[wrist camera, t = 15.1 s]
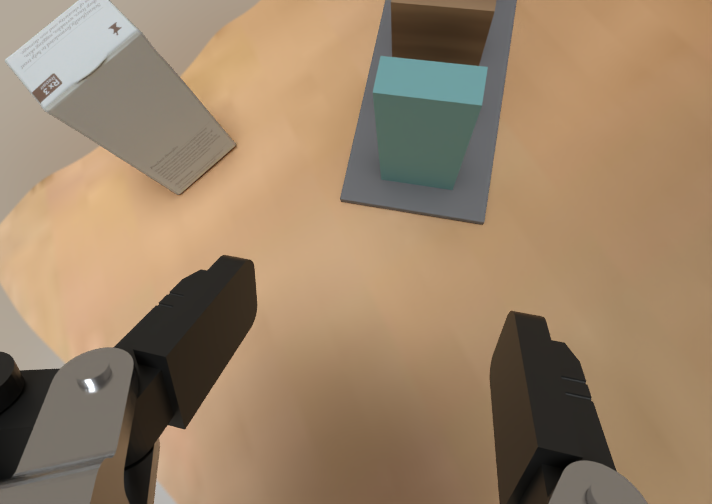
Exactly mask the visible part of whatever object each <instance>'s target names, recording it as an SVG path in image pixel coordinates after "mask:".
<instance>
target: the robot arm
mask: <svg viewBox="0 0 712 504" xmlns="http://www.w3.org/2000/svg"><path fill="white" fill-rule="evenodd" d="M256 312H257V295H256V282H255V269H254V264H253V262H252V261H251V260H248V259H243V258H238V257H233V256H228V255H223V256H221V257H220V258H219V259H218V260H217V261H216V262H215V263H214V264H213V265H212V266H211V267H210V268H209V269H208V270H207V271H206V270H199V271H197V272H195V273H193V274H192V275H190V276H188V277H186V278H184V279H182V280H181V281H180V282H179V283H178V284H177V285H176V286H175V287H174V288H173V289H172V290H171V291H170V294H169V295H166V296H165V297H164V298H163V299H162V300H161V301H160V302H159V305H158V306H155V307H154V308H153V309H152V310H151V311H150V312H149V313H148V314H147V315H146V316H145V317H144V318H143V319H142V320H141V321H140V322H139V323H138V324H137V325H136V326H135V327H134V328H133V329H132V330H131V331H130V332H129V333H128V334H127V335H126V336H125V337H124V338H123V339H122V340H121V341H120V342H119V343H118V344H117V345H116V346H115V347H113V348H100V349H95V350H91V351H88V352H86V353H83V354H81V355H79V356H77V357H75V358H73V359H72V360H70V361H69V362H67V363H66V364H65V365H64V366H63V367H62V368H61V369H44V370H24V371H20V370H19V368H18V367H17V365H16V363H15V361H14V360H13V358H12V357H11V356H10V355H9V354H7V353H4V352H0V504H154V496H155V487H156V478H157V469H158V460H159V451H160V441H159V437H160V435H161V434H162V432H163V431H164V429H165V428H166V427H167V425H170V426H174V427H178V428H181V429H186V427H187V426H188V424H189V422H190V421H191V419H192V418H193V416H194V415H195V413H196V412H197V410H198V409H199V407H200V405H201V404H202V402H203V401H204V399H205V398H206V396H207V395H208V393H209V392H210V390H211V388H212V387H213V385H214V384H215V382H216V381H217V379H218V378H219V376H220V375H221V373H222V372H223V370H224V368H225V367H226V365H227V364H228V362H229V361H230V359H231V358H232V356H233V355H234V353H235V351H236V350H237V348H238V347H239V345H240V344H241V342H242V341H243V339H244V338H245V336H246V334H247V333H248V331H249V330H250V328H251V327H252V325H253V322H254V320H255V317H256ZM490 388H491V400H492V413H493V425H494V438H495V451H496V463H497V476H498V488H499V501H500V504H648V503H647V502H646V500H645V499H644V497H643V496H642V495H641V493H640V492H639V491H638V490H637V489H636V488H635V486H634V485H633V484H632V483H631V482H629V481H628V480H627V479H626V478H625V477H624V476H622V475H621V474H619V473H618V472H617V471H616V468H615V466H614V463H613V460H612V457H611V454H610V451H609V448H608V445H607V442H606V439H605V436H604V433H603V430H602V427H601V424H600V421H599V418H598V415H597V412H596V409H595V406H594V403H593V402H592V401H591V398H592V397H591V394H590V391H589V388H588V385H586V379H585V376H584V373H583V370H582V367H581V364H580V361H579V360H578V359H577V358H576V356H575V355H574V354H573V353H572V352H571V350H570V349H569V348H568V347H567V345H566V344H565V343H563V342H558V341H553V340H551V337H550V334H549V330H548V326H547V323H546V320H545V318H544V317H541V316H536V315H531V314H526V313H520V312H515V311H510V312H509V314H508V316H507V318H506V321H505V324H504V326H503V329H502V332H501V334H500V337H499V340H498V343H497V345H496V348H495V351H494V354H493V357H492V361H491V367H490Z"/></svg>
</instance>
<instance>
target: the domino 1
mask: <svg viewBox="0 0 712 504" xmlns="http://www.w3.org/2000/svg"><path fill="white" fill-rule="evenodd" d="M495 6H496V0H391V34H392V57H396V58H406V59H416V60H425V61H435V62H445V63H454V64H464V65H473V66H479V64H480V61H481V57H482V54H483V50H484V47H485V43H486V40H487V36H488V33H489V29H490V26H491V22H492V19H493V16H494V12H495Z"/></svg>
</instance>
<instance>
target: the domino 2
mask: <svg viewBox="0 0 712 504" xmlns="http://www.w3.org/2000/svg"><path fill="white" fill-rule="evenodd" d="M487 69H488V67H483V66H473V65H464V64H454V63H445V62H435V61H425V60H416V59H406V58H396V57H387V56H381V57H380V61H379V66H378V70H377V75H376V79H375V84H374V89H373V102H374V112H375V122H376V132H377V142H378V152H379V162H380V172H381V180H387V181H394V182H401V183H408V184H414V185H421V186H428V187H434V188H441V189H448V190H453V187H454V184H455V182H456V179H457V176H458V173H459V170H460V167H461V164H462V161H463V159H464V156H465V153H466V150H467V147H468V144H469V141H470V138H471V136H472V133H473V130H474V127H475V124H476V121H477V118H478V115H479V113H480V110H481V107H482V102H483V96H484V89H485V82H486V76H487Z"/></svg>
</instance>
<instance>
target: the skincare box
mask: <svg viewBox="0 0 712 504" xmlns="http://www.w3.org/2000/svg"><path fill="white" fill-rule="evenodd" d="M5 62H6V64H7V65H8V66H9V67H10V68H11V70H12V71H13V72H14V73H15V75H16V76H17V77H18V78H19V80H20V81H21V82H22V83H23V84H24V85H25V87H26V88H27V89H28V91H29V92H30V93H31V94H32V96H33V97H34V98H35V99H36V100H37V102H38V103H39V104H40V106H41V107H42V108H43V110H44V111H45V112H47V113H49V114H50V115H52V116H54V117H55V118H57V119H58V120H60V121H62V122H63V123H65V124H66V125H68V126H70V127H71V128H73V129H75V130H76V131H78V132H80V133H81V134H83V135H84V136H86V137H87V138H89V139H91V140H92V141H94V142H95V143H97V144H98V145H100V146H101V147H103V148H105V149H106V150H108V151H109V152H111V153H113V154H114V155H116V156H117V157H119V158H120V159H122V160H123V161H125V162H127V163H128V164H130V165H131V166H133V167H135V168H136V169H138V170H139V171H141V172H142V173H144V174H146V175H147V176H149V177H150V178H152V179H153V180H155V181H157V182H158V183H160V184H161V185H163V186H165V187H166V188H168V189H169V190H171V191H172V192H174V193H175V194H177V195H179V194H181V193H182V192H183V191H184V190H186V189H187V188H188V187H189V186H190V185H191V184H192V183H193V182H195V181H196V180H197V179H198V178H199V177H200V176H201V175H203V174H204V173H205V172H206V171H207V170H208V169H209V168H211V167H212V166H213V165H214V164H215V163H216V162H217V161H219V160H220V159H221V158H222V157H223V156H224V155H225V154H227V153H228V152H229V151H230V150H231V149H232V148H233V147H235V146H236V143H235V142H234V141H233V140H232V139H231V138H230V136H229V135H228V134H227V133H226V132H225V130H224V129H223V128H222V127H221V126H220V124H219V123H218V122H217V121H216V120H215V118H214V117H213V116H212V115H211V114H210V113H209V111H208V110H207V109H206V108H205V107H204V105H203V104H202V103H201V102H200V101H199V99H198V98H197V97H196V96H195V95H194V93H193V92H192V91H191V90H190V89H189V87H188V86H187V85H186V84H185V83H184V81H183V80H182V79H181V78H180V77H179V76H178V74H177V73H176V72H175V71H174V70H173V69H172V67H171V66H170V65H169V64H168V63H167V62H166V61H165V60H164V59H163V57H162V56H160V54H159V53H158V52H157V51H156V50H155V49H154V47H153V46H152V45H151V43H150V42H149V41H148V39H147V38H146V37H145V36H144V35H143V33H142V32H141V31H140V30H139V29H138V28H137V27H136V26H135V25H134V24H133V23H132V22H131V21H129V19H127V18H126V17H125V16H124V15H123V14H122V13H121V12H120V11H119V10H118V9H117V8H116V7H115V6H114V5H113V3H112V2H111V1H110V0H78V1H77V2H76V3H74V4H73V5H72V6H71V7H70V8H68V9H67V10H66V11H65V12H63V13H62V14H61V15H60V16H59V17H57V18H56V19H55V20H54V21H52V22H51V23H50V24H49V25H47V26H46V27H45V28H44V29H43V30H42V31H40V32H39V33H38V34H36V35H35V36H34V37H33V38H31V39H30V40H29V41H28V42H26V43H25V44H24V45H23V46H22V47H20V48H19V49H18V50H17V51H16V52H14V53H13V54H12V55H10V56H9V57H8V58H6V59H5Z"/></svg>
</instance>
